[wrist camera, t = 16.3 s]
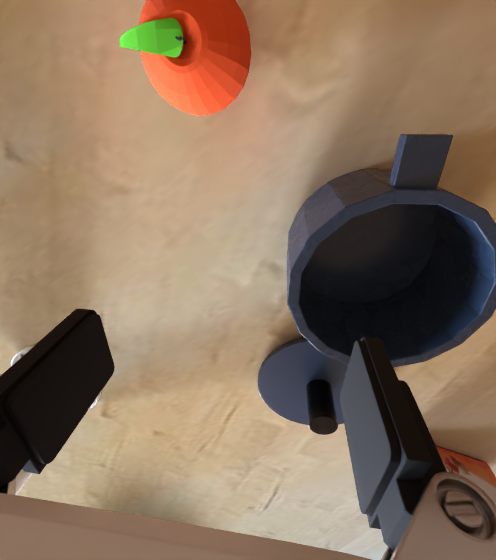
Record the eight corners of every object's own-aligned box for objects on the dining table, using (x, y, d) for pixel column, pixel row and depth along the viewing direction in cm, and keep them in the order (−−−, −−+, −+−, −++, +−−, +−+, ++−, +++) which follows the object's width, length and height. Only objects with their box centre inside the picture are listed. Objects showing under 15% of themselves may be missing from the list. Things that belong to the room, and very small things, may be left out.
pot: (282, 322, 32) (281, 383, 24) (295, 130, 22) (300, 135, 15) (409, 331, 30) (449, 398, 23) (480, 131, 21) (585, 135, 14)
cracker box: (489, 459, 39) (667, 755, 21) (458, 480, 42) (591, 754, 24) (396, 428, 38) (497, 708, 20) (372, 451, 41) (440, 713, 23)
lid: (257, 412, 40) (253, 457, 34) (259, 328, 32) (254, 369, 27) (367, 423, 38) (380, 472, 33) (394, 338, 31) (417, 383, 26)
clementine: (156, 114, 23) (109, 111, 17) (143, -2, 20) (78, -58, 13) (254, 118, 22) (242, 116, 16) (258, -2, 19) (245, -62, 13)
